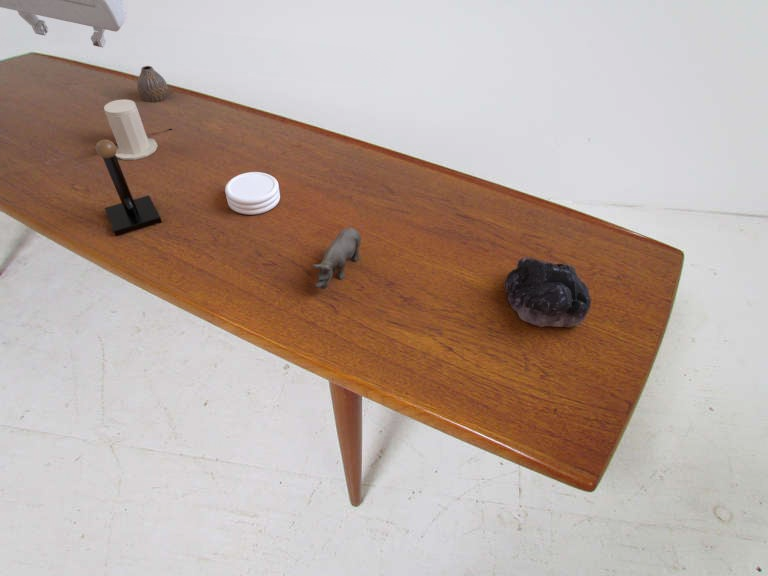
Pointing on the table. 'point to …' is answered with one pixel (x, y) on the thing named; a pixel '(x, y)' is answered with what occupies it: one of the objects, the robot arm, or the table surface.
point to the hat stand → (125, 197)
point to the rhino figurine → (338, 256)
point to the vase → (152, 85)
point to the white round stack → (252, 193)
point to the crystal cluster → (547, 293)
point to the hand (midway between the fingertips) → (71, 38)
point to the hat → (128, 130)
